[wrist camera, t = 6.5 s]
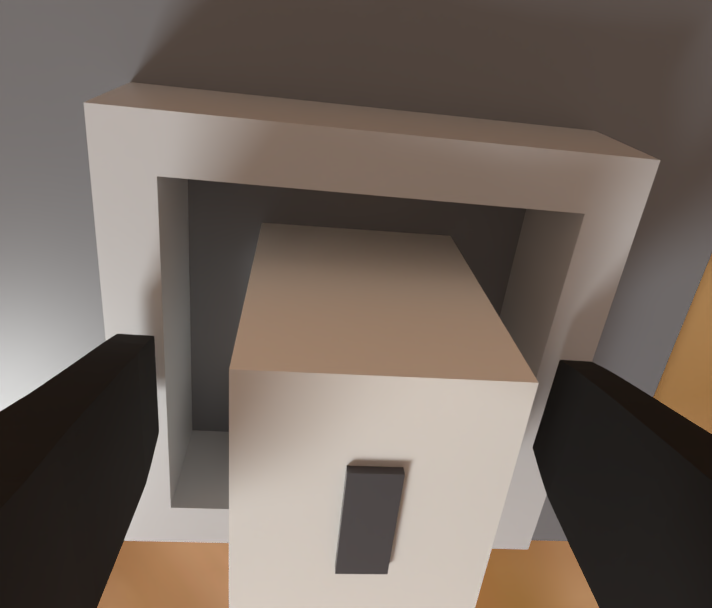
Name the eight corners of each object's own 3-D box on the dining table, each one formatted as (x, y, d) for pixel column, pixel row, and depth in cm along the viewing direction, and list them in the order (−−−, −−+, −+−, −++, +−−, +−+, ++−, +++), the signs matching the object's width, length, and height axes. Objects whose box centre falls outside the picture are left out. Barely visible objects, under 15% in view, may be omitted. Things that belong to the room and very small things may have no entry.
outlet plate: (772, 12, 12) (933, 16, 9) (580, 515, 18) (636, 620, 15) (-72, -99, 10) (-241, -145, 7) (35, 499, 16) (-29, 615, 13)
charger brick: (450, 235, 13) (543, 389, 8) (417, 422, 15) (471, 636, 10) (261, 222, 12) (227, 376, 7) (256, 416, 14) (227, 638, 9)
